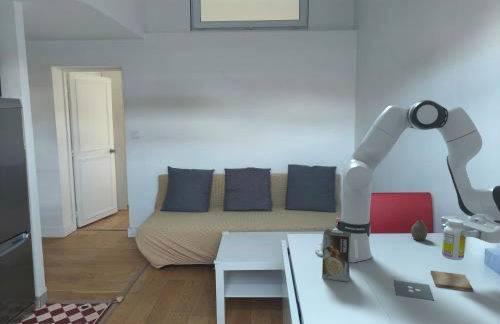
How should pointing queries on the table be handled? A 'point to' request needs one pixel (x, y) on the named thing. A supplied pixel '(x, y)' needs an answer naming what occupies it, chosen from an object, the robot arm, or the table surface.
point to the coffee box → (336, 255)
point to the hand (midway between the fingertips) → (452, 230)
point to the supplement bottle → (453, 240)
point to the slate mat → (413, 290)
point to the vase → (419, 231)
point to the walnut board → (451, 280)
